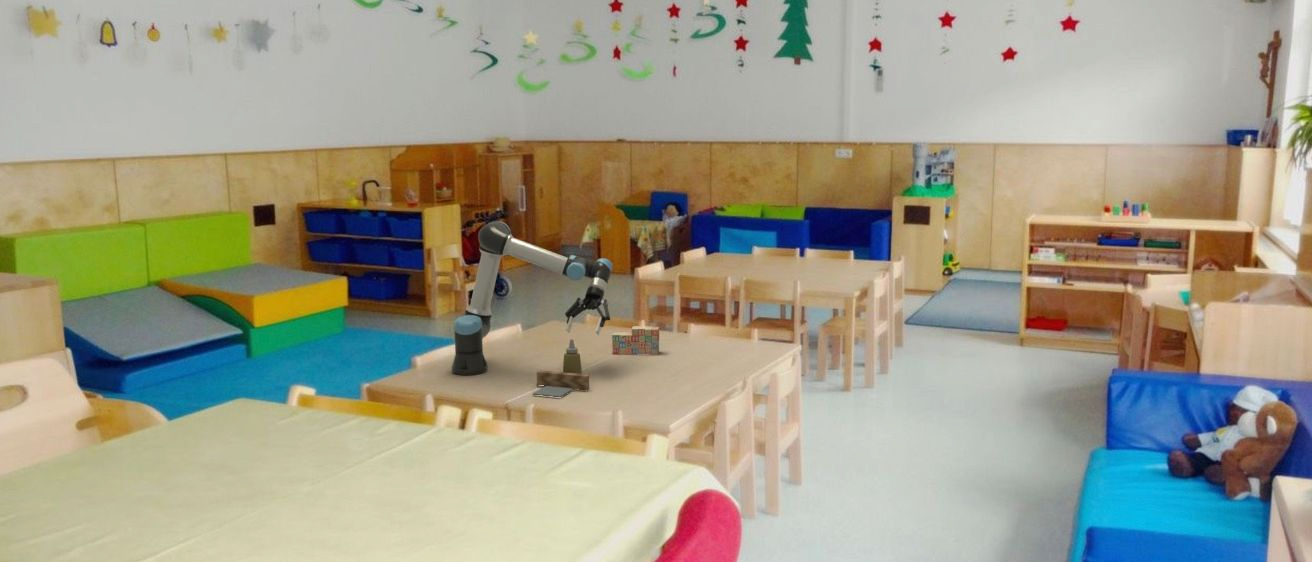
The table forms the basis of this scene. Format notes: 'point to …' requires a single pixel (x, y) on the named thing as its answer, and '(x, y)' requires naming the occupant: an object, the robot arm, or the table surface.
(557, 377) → the walnut rail
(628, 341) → the stack of blocks
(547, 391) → the grey rubber pad
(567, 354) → the squeeze bottle
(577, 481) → the table surface
